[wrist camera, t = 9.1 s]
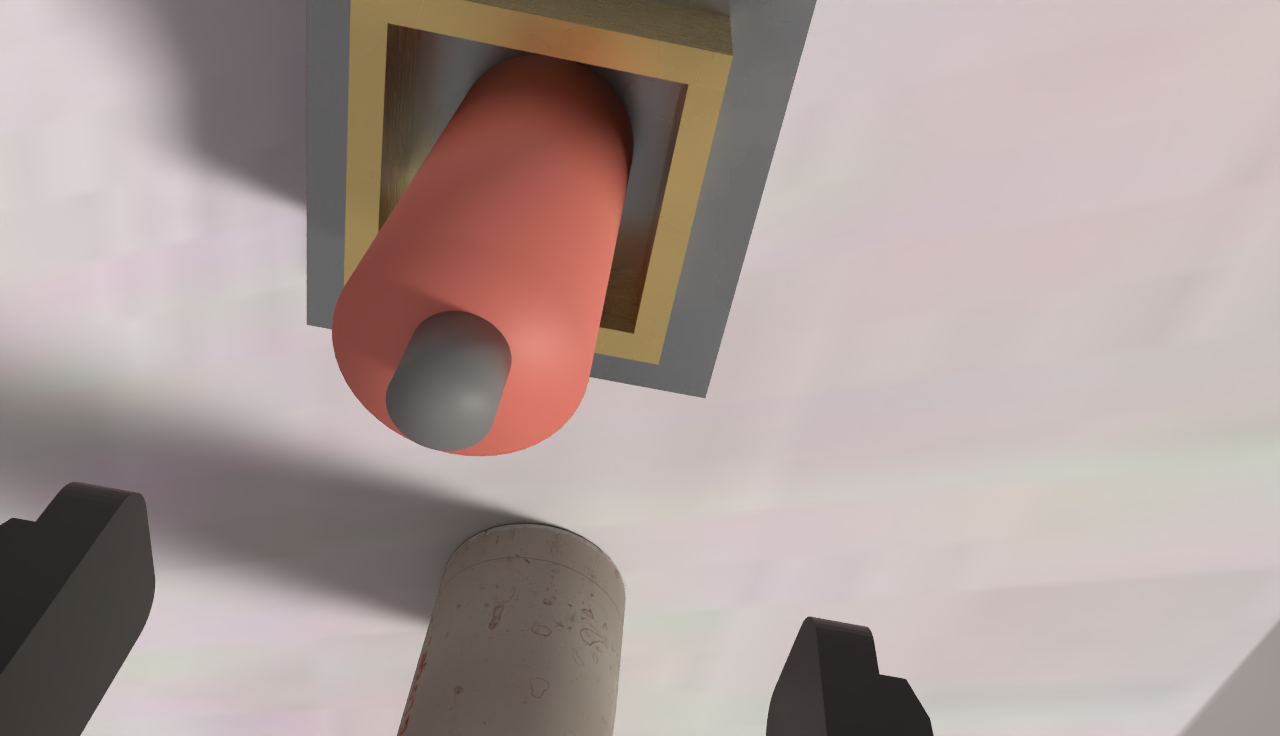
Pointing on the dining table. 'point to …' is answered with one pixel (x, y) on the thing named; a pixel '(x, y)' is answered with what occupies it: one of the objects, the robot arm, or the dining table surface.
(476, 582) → the thermos bottle
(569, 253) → the oil can
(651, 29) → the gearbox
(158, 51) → the dining table surface
